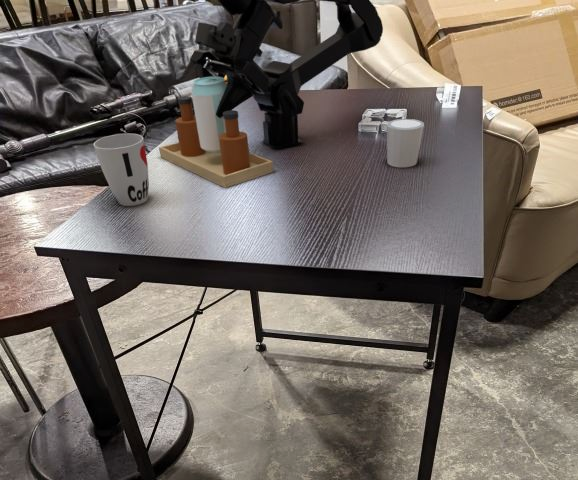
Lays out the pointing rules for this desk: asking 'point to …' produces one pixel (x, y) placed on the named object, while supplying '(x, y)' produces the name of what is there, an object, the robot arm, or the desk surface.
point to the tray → (216, 166)
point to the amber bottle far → (188, 129)
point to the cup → (124, 167)
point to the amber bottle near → (233, 145)
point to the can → (209, 111)
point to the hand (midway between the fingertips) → (207, 113)
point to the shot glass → (403, 142)
